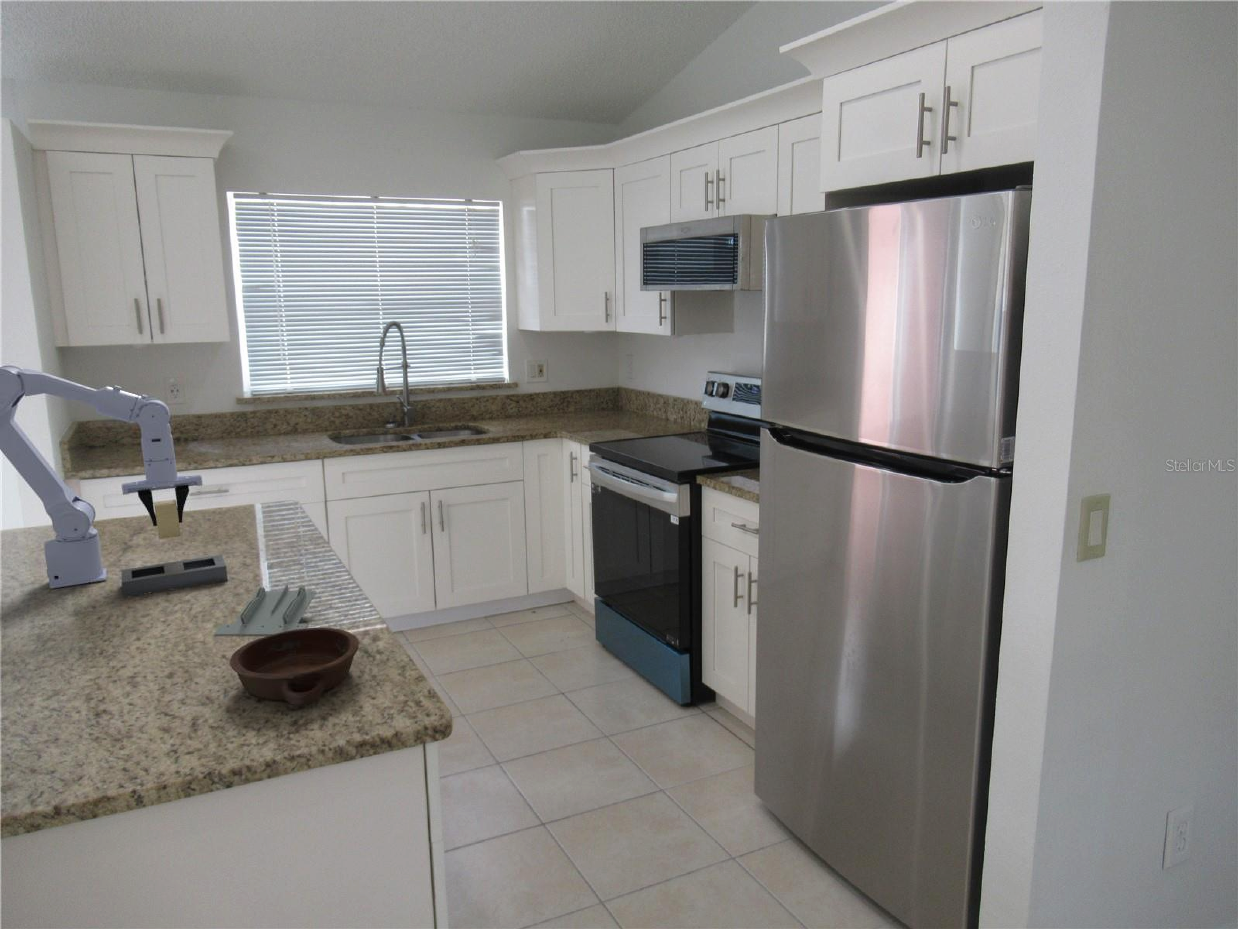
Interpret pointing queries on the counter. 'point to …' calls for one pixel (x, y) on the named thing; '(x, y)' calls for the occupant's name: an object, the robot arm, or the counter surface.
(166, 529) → the brass peg
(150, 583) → the grey slotted block
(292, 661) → the dish
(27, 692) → the counter surface
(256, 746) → the counter surface
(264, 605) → the metal bracket
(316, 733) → the counter surface
